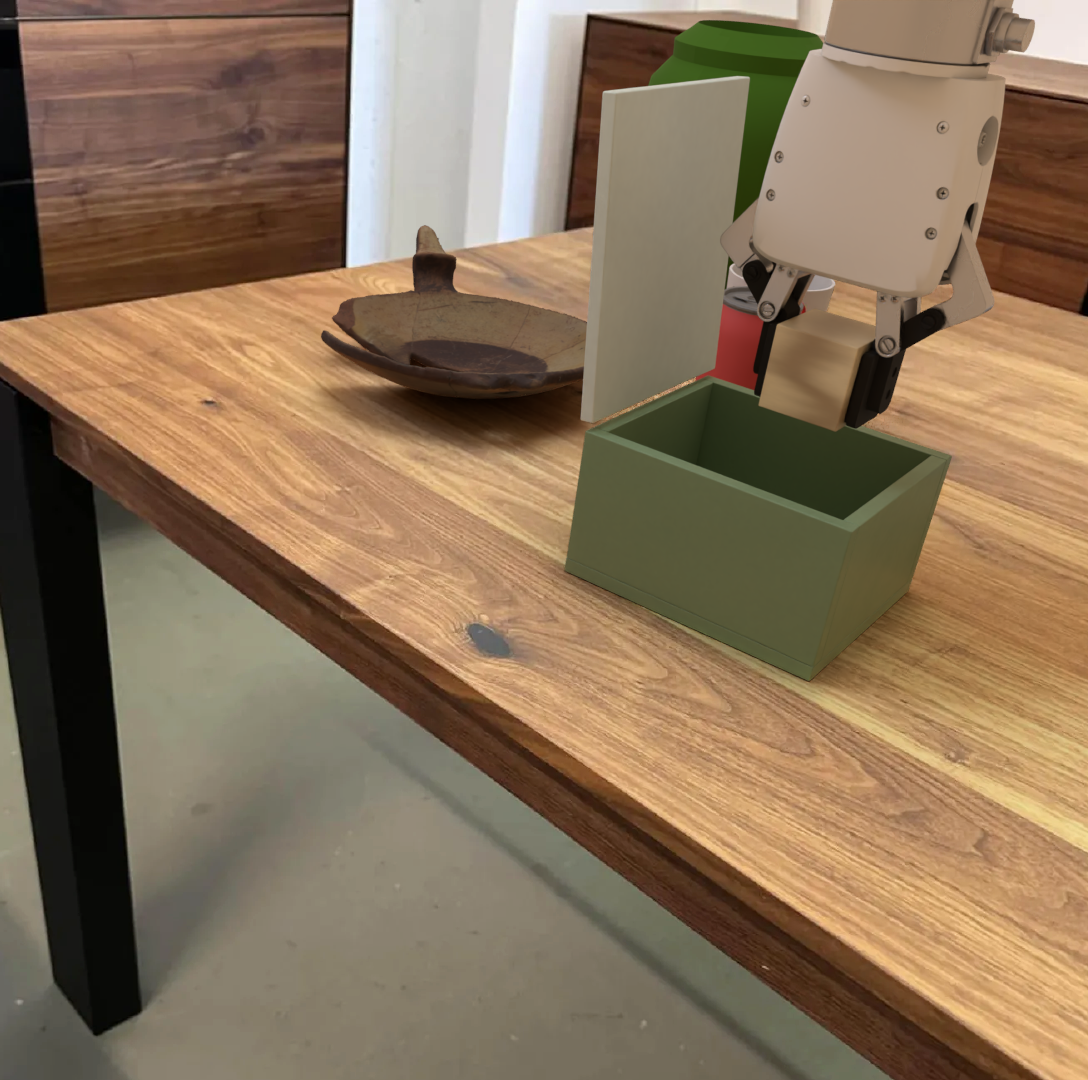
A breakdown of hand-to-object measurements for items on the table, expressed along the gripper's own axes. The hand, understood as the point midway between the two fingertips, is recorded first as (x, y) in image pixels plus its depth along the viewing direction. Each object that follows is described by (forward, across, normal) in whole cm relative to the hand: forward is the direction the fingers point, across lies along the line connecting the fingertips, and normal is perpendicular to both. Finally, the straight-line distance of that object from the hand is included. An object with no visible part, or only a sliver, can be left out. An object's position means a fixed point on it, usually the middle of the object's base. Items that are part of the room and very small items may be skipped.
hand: (815, 402), depth 65 cm
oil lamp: (+12, +34, -14) cm, 39 cm away
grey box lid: (-6, +10, 0) cm, 12 cm away
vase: (+12, +34, -53) cm, 64 cm away
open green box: (+12, +2, 0) cm, 12 cm away
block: (0, 0, 0) cm, 0 cm away
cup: (+12, +16, -29) cm, 35 cm away
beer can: (+12, +11, -15) cm, 22 cm away
